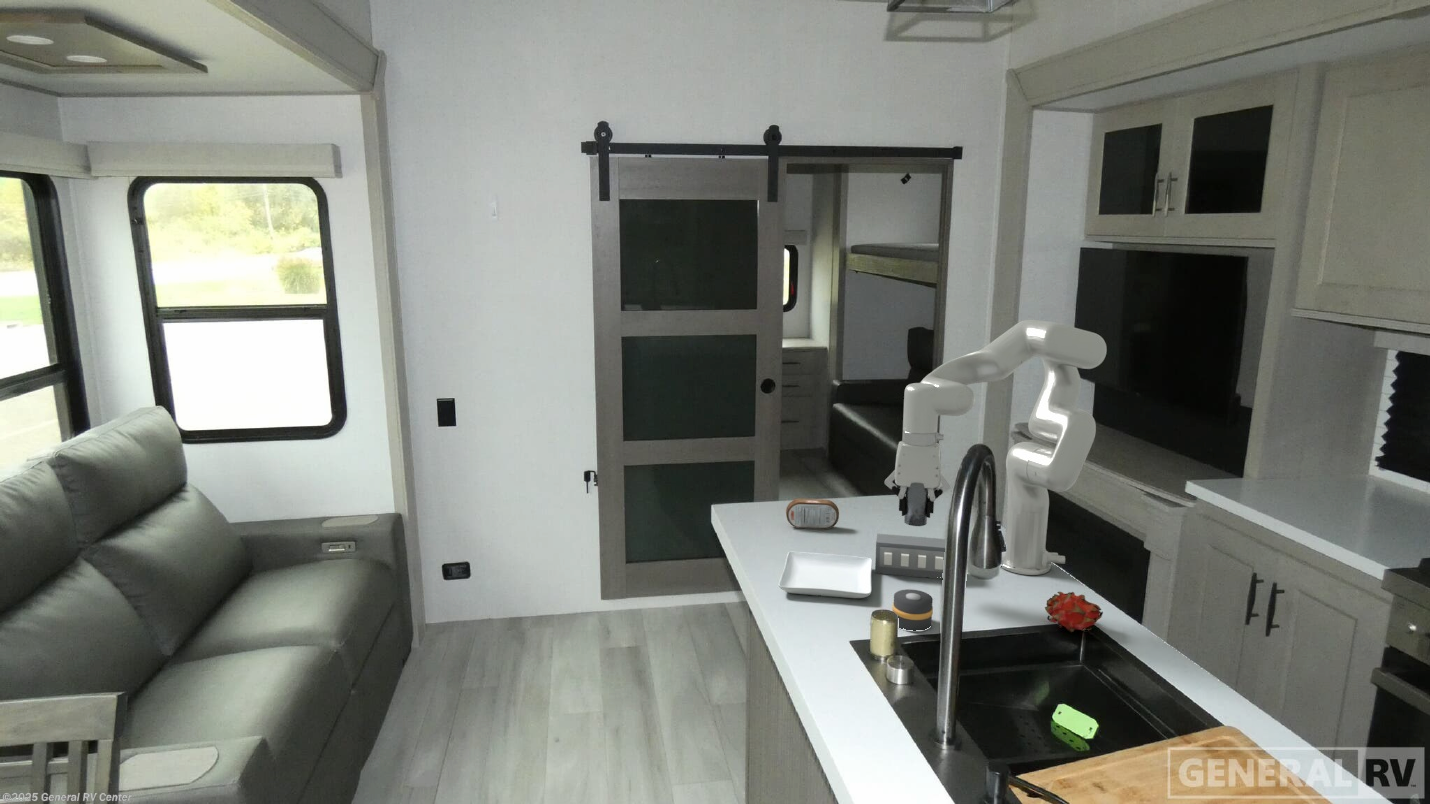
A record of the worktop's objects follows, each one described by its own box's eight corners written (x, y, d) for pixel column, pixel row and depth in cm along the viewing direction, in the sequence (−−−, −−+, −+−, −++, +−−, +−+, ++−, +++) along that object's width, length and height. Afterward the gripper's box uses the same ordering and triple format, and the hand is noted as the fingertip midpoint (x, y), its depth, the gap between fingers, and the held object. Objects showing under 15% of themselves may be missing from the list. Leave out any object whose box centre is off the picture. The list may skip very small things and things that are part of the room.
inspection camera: (926, 519, 187) (928, 477, 185) (926, 527, 182) (928, 484, 180) (904, 517, 188) (906, 476, 186) (904, 525, 183) (906, 483, 181)
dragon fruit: (1037, 630, 172) (1094, 641, 171) (1052, 624, 164) (1112, 635, 163) (1038, 591, 175) (1094, 601, 174) (1052, 583, 167) (1111, 593, 166)
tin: (838, 526, 230) (839, 498, 228) (839, 530, 227) (839, 502, 225) (785, 525, 231) (786, 497, 230) (785, 529, 228) (786, 501, 226)
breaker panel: (949, 570, 199) (951, 539, 198) (951, 582, 192) (953, 551, 190) (876, 563, 204) (877, 533, 202) (874, 575, 196) (875, 544, 195)
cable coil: (931, 616, 175) (933, 589, 174) (932, 634, 167) (933, 606, 166) (892, 612, 177) (893, 586, 176) (891, 630, 169) (892, 602, 168)
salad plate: (871, 606, 181) (871, 592, 180) (777, 598, 185) (777, 584, 184) (872, 569, 201) (872, 556, 200) (787, 563, 205) (787, 550, 204)
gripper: (958, 436, 182) (953, 512, 186) (881, 432, 186) (878, 507, 190) (959, 444, 175) (955, 523, 179) (880, 440, 179) (877, 517, 183)
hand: (915, 514), depth 184 cm, fingers closed on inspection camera, 5 cm apart
